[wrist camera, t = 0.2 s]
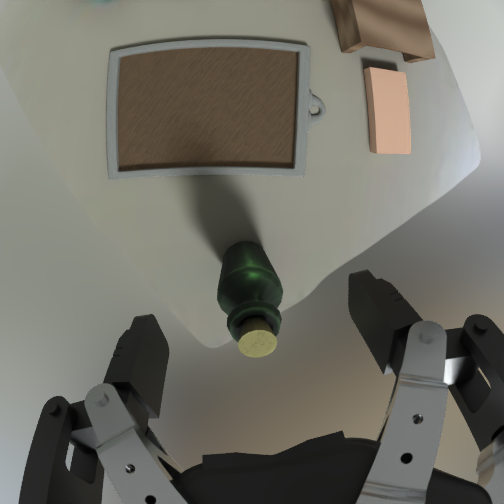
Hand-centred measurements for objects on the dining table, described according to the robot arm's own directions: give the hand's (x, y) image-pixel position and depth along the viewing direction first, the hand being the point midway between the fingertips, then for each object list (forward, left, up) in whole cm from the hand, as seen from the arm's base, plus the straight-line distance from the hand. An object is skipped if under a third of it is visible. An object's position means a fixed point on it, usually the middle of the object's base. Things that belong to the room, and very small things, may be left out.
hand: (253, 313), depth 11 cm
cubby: (-24, +24, -29) cm, 44 cm away
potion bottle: (+12, 0, -29) cm, 31 cm away
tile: (-9, +24, -29) cm, 39 cm away
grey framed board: (-11, -1, -30) cm, 31 cm away
